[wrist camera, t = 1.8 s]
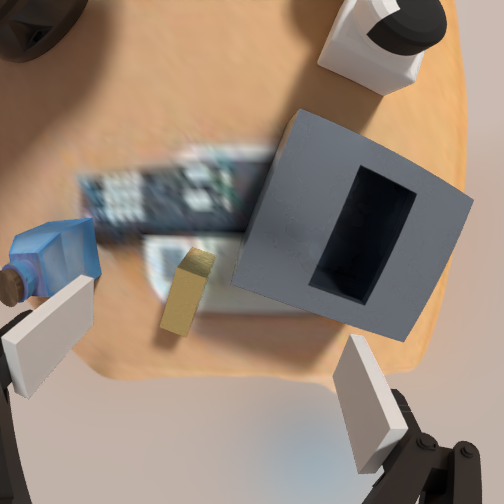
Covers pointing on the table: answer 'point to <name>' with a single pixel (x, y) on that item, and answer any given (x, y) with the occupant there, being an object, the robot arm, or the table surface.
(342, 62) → the medicine bottle
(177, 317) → the block
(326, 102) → the table surface
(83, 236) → the perfume bottle
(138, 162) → the table surface
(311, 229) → the coin box
